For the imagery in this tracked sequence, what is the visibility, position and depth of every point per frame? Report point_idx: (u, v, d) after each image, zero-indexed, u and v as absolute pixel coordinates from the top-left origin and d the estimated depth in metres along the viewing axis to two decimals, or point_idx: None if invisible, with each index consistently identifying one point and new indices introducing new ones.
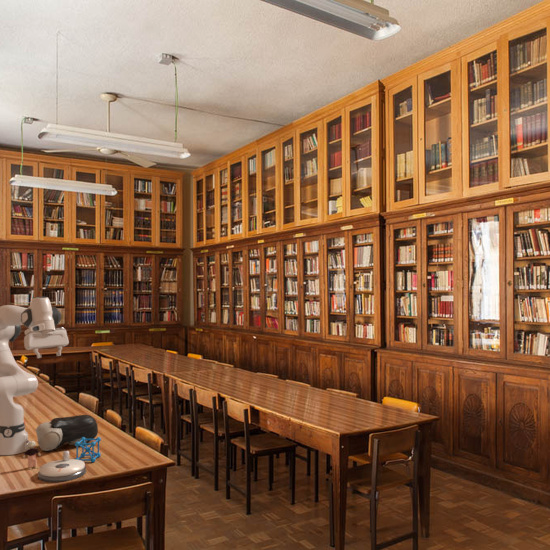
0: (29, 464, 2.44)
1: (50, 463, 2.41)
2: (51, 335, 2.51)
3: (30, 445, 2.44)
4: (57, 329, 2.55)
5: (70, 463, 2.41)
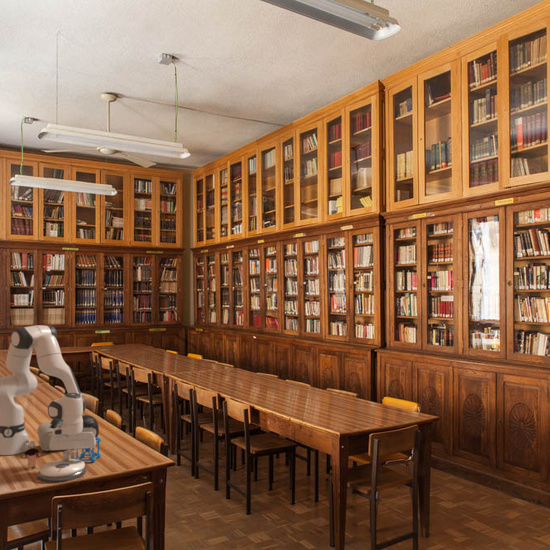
0: (29, 464, 2.44)
1: (50, 463, 2.41)
2: (76, 437, 2.44)
3: (30, 445, 2.44)
4: (85, 430, 2.46)
5: (70, 463, 2.41)
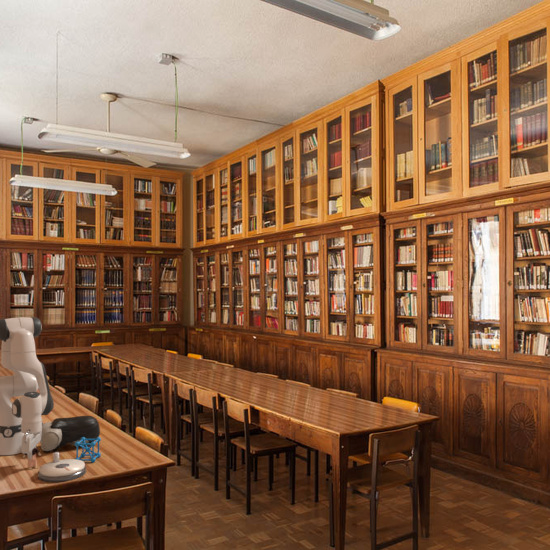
0: (29, 464, 2.44)
1: (44, 466, 2.37)
2: None
3: None
4: None
5: (66, 462, 2.42)
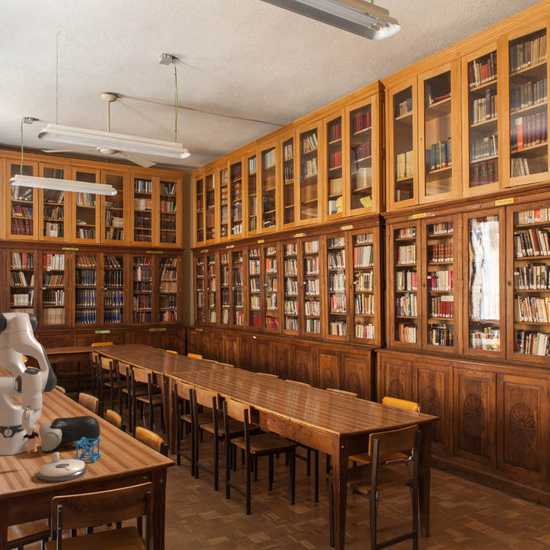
0: (28, 447, 2.45)
1: (44, 466, 2.37)
2: None
3: None
4: None
5: (66, 462, 2.42)
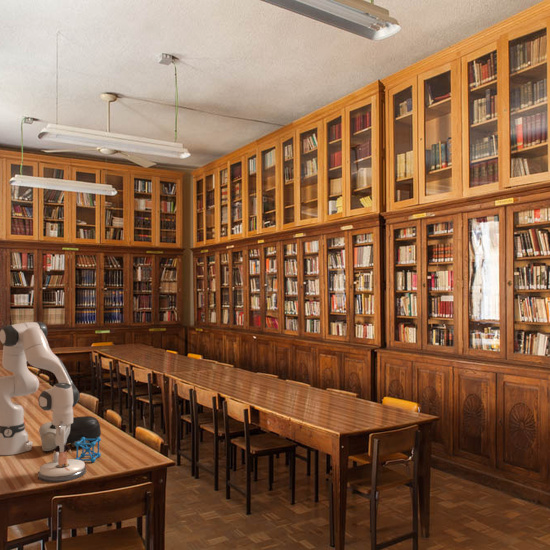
0: (59, 461, 2.35)
1: (44, 466, 2.37)
2: None
3: None
4: None
5: None
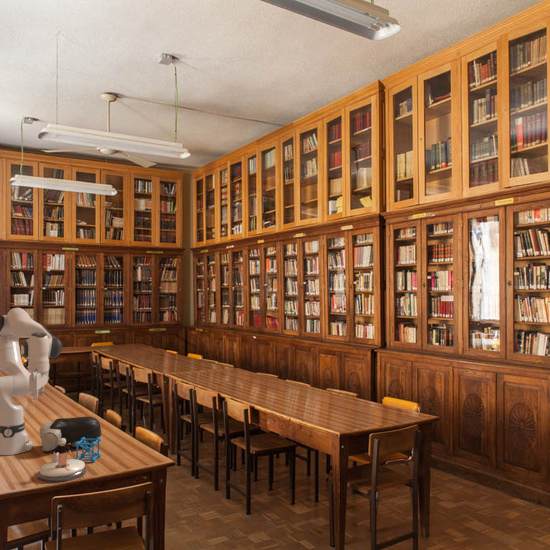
0: (59, 462, 2.35)
1: (44, 466, 2.37)
2: None
3: (60, 442, 2.35)
4: None
5: None
